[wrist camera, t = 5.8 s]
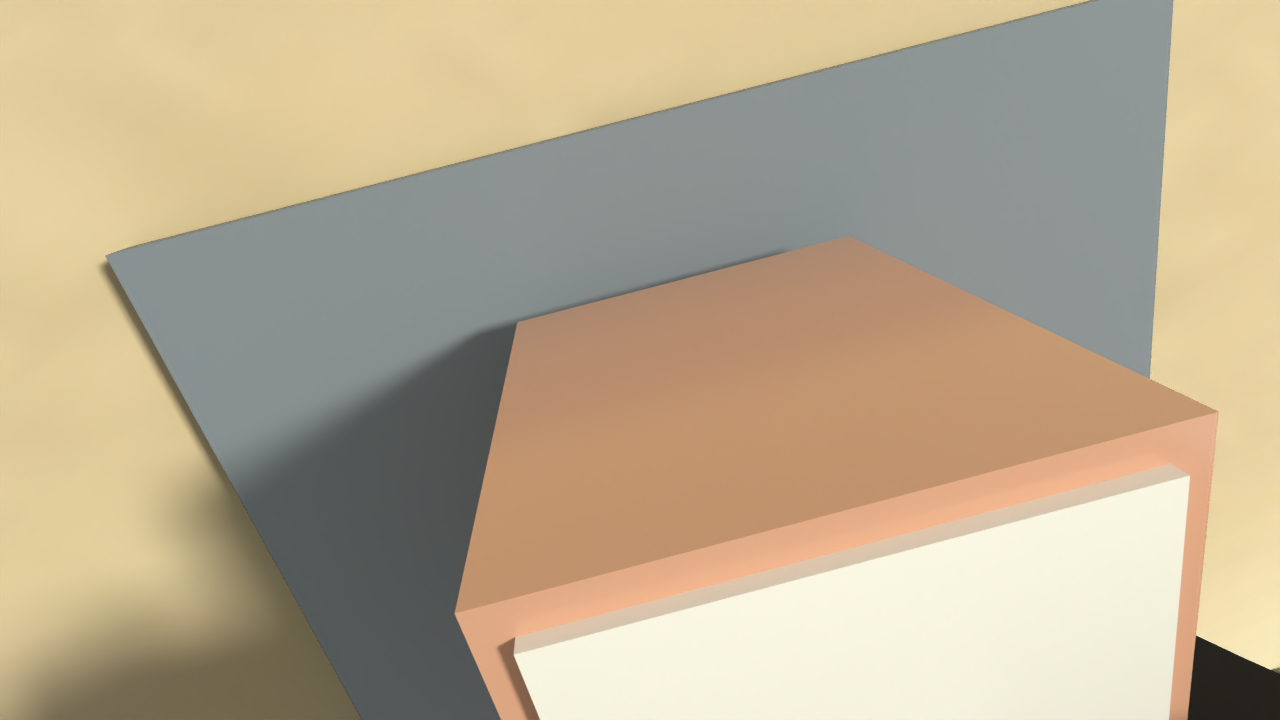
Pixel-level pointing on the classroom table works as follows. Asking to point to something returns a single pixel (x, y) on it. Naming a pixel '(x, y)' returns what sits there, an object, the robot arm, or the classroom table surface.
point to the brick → (832, 509)
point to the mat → (628, 288)
